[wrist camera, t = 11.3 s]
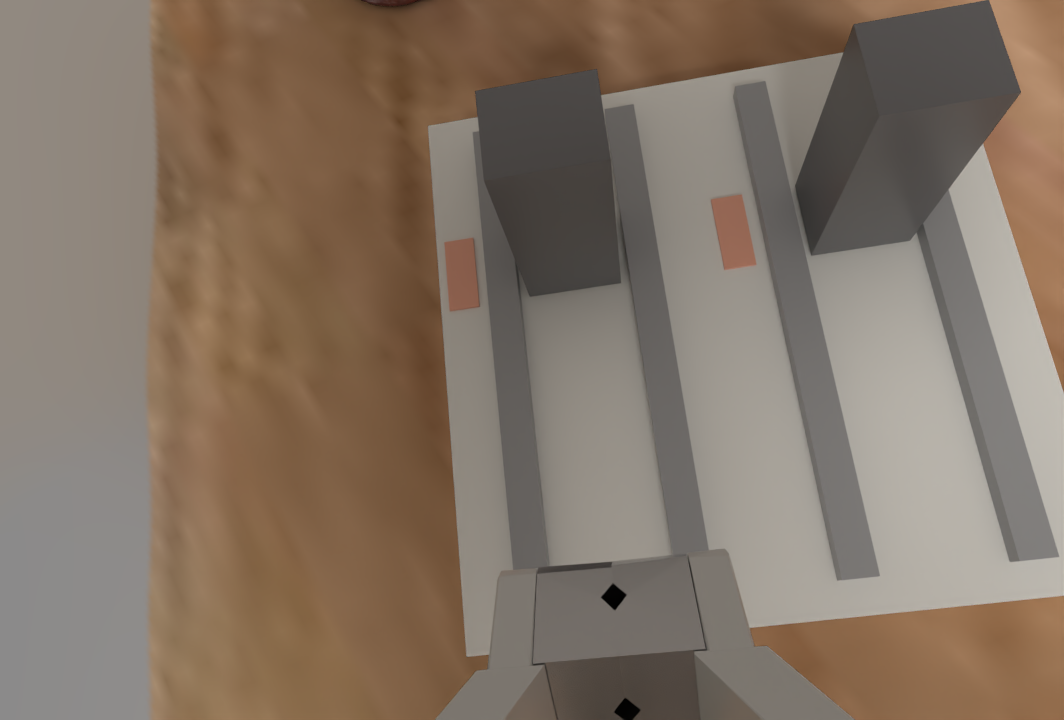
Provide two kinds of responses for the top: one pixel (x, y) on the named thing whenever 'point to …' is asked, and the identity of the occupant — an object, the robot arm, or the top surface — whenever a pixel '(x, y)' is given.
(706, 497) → the white board with strips
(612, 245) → the switch tab
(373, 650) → the top surface
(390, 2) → the supplement bottle
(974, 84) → the switch tab
